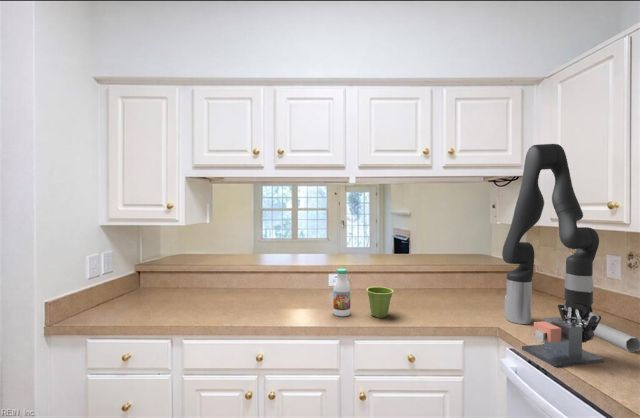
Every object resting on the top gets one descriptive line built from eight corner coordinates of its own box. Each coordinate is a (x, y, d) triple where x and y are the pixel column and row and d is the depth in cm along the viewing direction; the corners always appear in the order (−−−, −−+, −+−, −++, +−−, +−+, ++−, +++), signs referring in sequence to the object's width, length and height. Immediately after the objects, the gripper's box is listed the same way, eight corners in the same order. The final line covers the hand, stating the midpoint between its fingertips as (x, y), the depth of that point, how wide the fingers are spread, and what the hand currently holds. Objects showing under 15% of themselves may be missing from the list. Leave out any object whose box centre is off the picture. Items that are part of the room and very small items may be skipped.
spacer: (533, 334, 113) (533, 322, 113) (543, 333, 114) (544, 321, 114) (550, 342, 107) (550, 329, 107) (561, 341, 108) (561, 328, 107)
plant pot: (375, 321, 143) (375, 294, 143) (361, 312, 154) (361, 288, 154) (398, 317, 147) (398, 291, 147) (383, 309, 158) (384, 285, 158)
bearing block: (521, 349, 116) (522, 317, 116) (566, 344, 120) (566, 314, 119) (555, 367, 103) (555, 331, 103) (603, 361, 107) (604, 327, 107)
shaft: (532, 341, 112) (532, 324, 112) (577, 336, 116) (577, 320, 116) (546, 348, 107) (546, 330, 107) (593, 343, 111) (594, 326, 110)
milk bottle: (330, 312, 155) (330, 268, 154) (346, 310, 157) (346, 267, 157) (337, 317, 148) (337, 271, 147) (353, 315, 150) (353, 270, 150)
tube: (568, 316, 139) (623, 340, 114) (580, 311, 139) (638, 335, 114) (572, 328, 139) (628, 355, 114) (584, 324, 139) (643, 350, 114)
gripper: (550, 283, 118) (549, 332, 119) (590, 294, 105) (589, 349, 105) (568, 282, 120) (567, 331, 120) (609, 292, 106) (608, 347, 107)
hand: (577, 339), depth 113 cm, fingers closed on shaft, 3 cm apart
